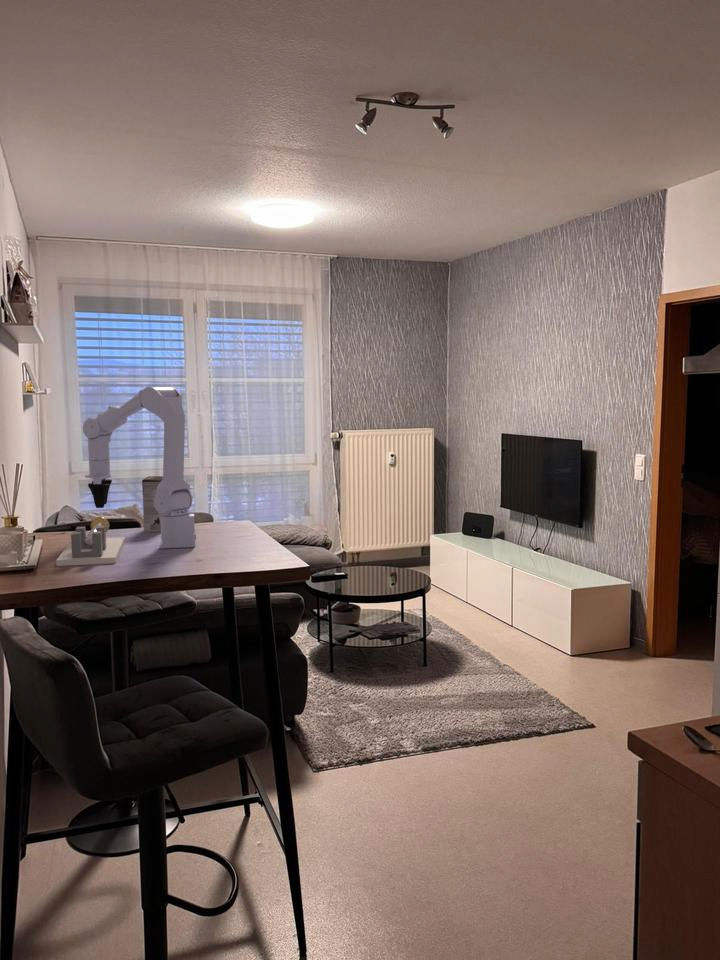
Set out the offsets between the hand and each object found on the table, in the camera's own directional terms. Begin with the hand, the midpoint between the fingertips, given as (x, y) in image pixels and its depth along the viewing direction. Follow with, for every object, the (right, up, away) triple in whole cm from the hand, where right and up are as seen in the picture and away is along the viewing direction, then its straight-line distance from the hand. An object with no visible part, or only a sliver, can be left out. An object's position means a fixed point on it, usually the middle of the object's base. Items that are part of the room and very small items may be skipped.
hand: (101, 506), depth 226 cm
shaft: (+3, -9, -15) cm, 18 cm away
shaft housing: (+5, -12, -21) cm, 24 cm away
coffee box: (+12, -8, +15) cm, 21 cm away
